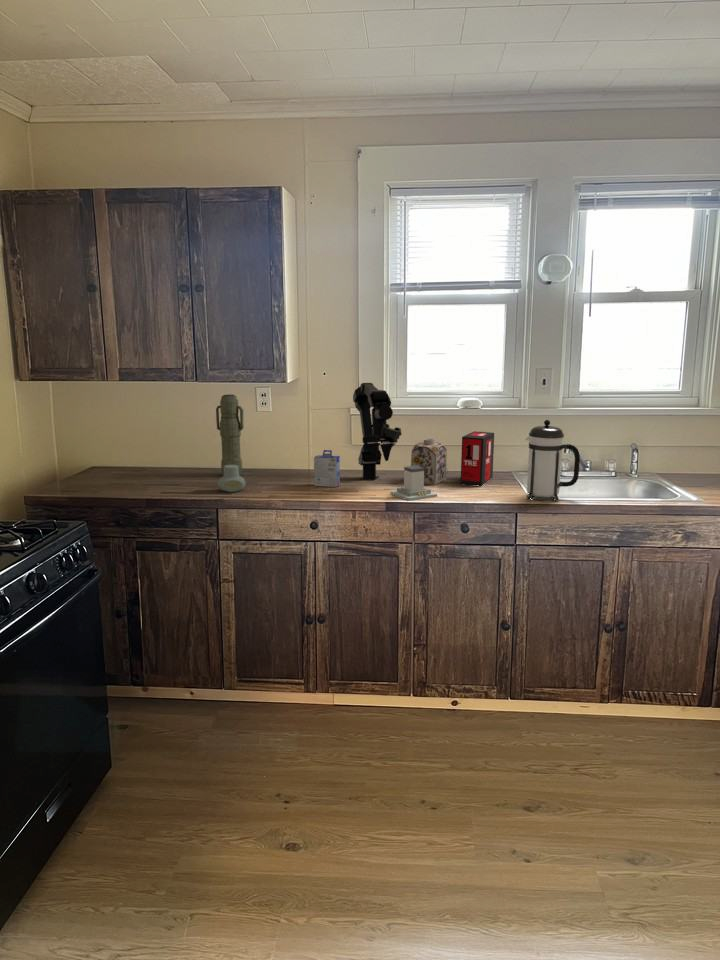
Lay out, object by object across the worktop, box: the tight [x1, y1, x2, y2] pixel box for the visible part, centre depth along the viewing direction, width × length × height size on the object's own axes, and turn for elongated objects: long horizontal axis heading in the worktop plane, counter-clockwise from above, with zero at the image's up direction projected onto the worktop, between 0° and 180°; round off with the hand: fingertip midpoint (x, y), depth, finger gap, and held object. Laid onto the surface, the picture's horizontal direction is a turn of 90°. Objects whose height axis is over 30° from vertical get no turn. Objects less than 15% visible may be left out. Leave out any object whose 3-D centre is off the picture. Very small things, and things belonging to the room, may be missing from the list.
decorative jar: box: [410, 438, 448, 486], centre depth 294 cm, size 12×12×18 cm
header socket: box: [390, 486, 438, 502], centre depth 272 cm, size 13×13×2 cm
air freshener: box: [217, 465, 247, 493], centre depth 278 cm, size 11×8×10 cm
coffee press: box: [524, 419, 581, 501], centre depth 265 cm, size 17×16×30 cm
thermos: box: [215, 394, 245, 477], centre depth 304 cm, size 9×12×35 cm
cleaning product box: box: [460, 431, 495, 487], centre depth 293 cm, size 16×9×20 cm, turn 154°
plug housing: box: [403, 465, 425, 492], centre depth 271 cm, size 6×6×10 cm
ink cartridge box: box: [313, 449, 341, 488], centre depth 287 cm, size 10×6×14 cm, turn 78°
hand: (381, 461), depth 281 cm, fingers open, 9 cm apart
